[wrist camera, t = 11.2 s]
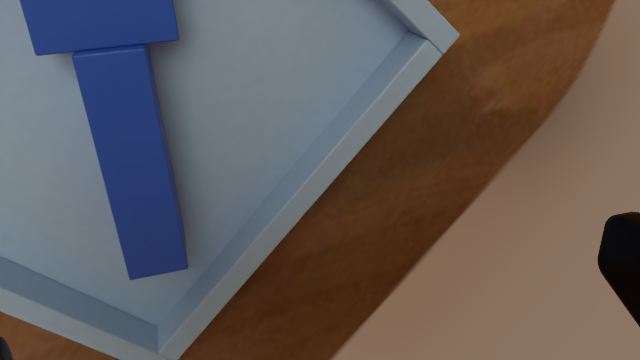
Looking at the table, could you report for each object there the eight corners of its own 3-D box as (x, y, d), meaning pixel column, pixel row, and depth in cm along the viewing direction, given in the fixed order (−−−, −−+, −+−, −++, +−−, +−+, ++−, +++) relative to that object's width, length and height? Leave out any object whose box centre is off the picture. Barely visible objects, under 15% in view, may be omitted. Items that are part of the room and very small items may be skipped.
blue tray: (60, -363, 13) (45, -408, 11) (431, 22, 19) (461, 35, 17) (-258, 153, 15) (-313, 186, 13) (161, 338, 22) (162, 377, 20)
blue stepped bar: (210, 229, 19) (217, 263, 18) (104, 248, 19) (99, 287, 17) (151, -127, 14) (151, -132, 13) (1, -120, 14) (-23, -125, 12)
